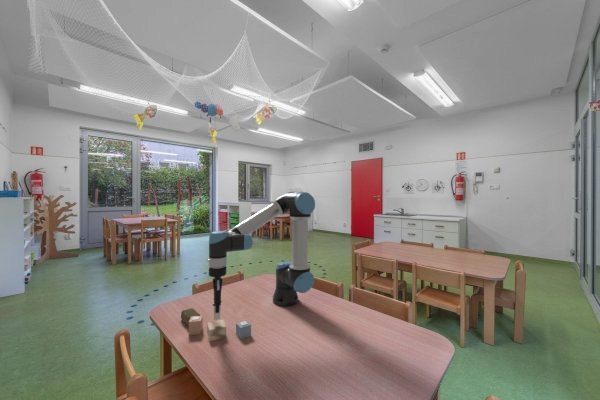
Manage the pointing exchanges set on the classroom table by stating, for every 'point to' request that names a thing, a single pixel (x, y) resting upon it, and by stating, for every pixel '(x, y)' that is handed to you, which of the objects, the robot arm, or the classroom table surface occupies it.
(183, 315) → the stone block
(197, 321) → the terracotta block
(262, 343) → the classroom table surface
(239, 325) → the slate block
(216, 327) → the oak block
